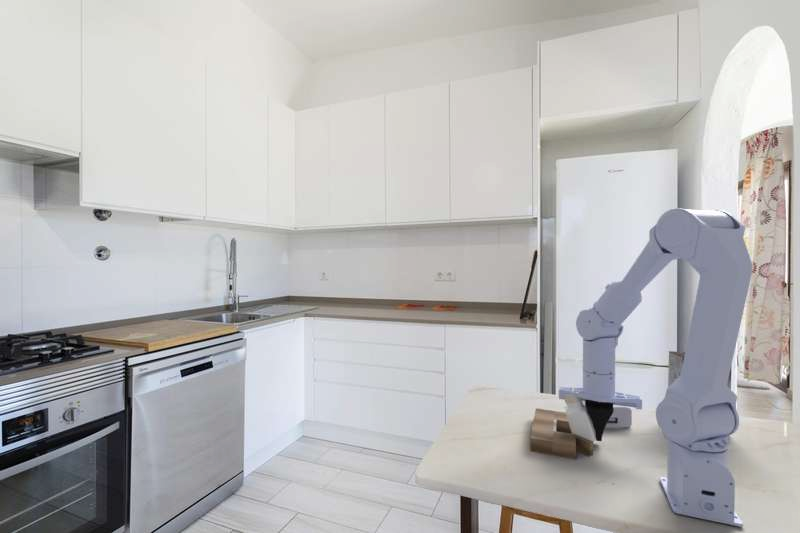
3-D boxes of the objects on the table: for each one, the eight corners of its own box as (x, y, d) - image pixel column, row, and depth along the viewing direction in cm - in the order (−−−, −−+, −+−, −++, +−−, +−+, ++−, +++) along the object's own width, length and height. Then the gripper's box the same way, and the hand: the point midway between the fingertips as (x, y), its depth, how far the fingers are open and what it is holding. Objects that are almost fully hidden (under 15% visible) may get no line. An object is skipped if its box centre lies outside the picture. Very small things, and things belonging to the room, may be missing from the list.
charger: (595, 403, 99) (631, 428, 84) (559, 403, 99) (589, 429, 84) (595, 385, 99) (631, 407, 84) (560, 385, 99) (589, 407, 84)
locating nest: (594, 462, 70) (594, 448, 70) (530, 450, 74) (530, 437, 74) (589, 427, 85) (589, 415, 85) (535, 419, 89) (535, 408, 89)
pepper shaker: (574, 435, 80) (560, 390, 81) (595, 433, 79) (581, 387, 80) (575, 444, 77) (560, 397, 78) (596, 442, 75) (581, 394, 76)
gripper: (637, 369, 77) (637, 436, 78) (559, 362, 83) (559, 424, 83) (644, 379, 71) (643, 453, 71) (558, 370, 77) (558, 438, 77)
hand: (598, 439), depth 77 cm, fingers closed
